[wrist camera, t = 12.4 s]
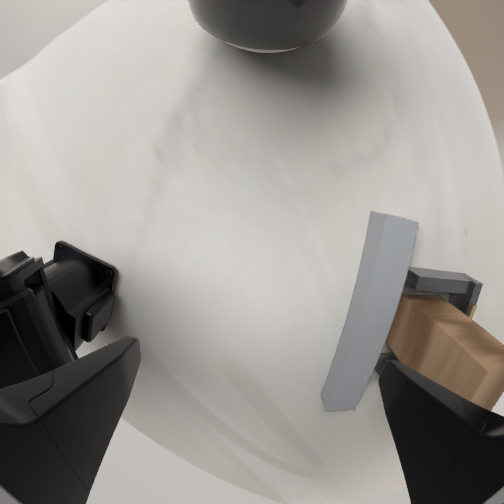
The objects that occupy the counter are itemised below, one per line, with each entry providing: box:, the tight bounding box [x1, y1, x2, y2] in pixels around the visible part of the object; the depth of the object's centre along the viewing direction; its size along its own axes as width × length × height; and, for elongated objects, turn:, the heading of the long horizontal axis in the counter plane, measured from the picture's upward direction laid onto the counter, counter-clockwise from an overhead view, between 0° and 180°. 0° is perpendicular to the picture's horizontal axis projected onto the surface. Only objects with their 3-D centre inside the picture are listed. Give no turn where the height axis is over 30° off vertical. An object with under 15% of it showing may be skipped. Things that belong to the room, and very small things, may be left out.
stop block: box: [386, 294, 504, 411], centre depth 16 cm, size 5×5×12 cm
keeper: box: [375, 267, 483, 376], centre depth 21 cm, size 8×10×3 cm
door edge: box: [321, 211, 419, 412], centre depth 21 cm, size 3×18×2 cm, turn 173°
